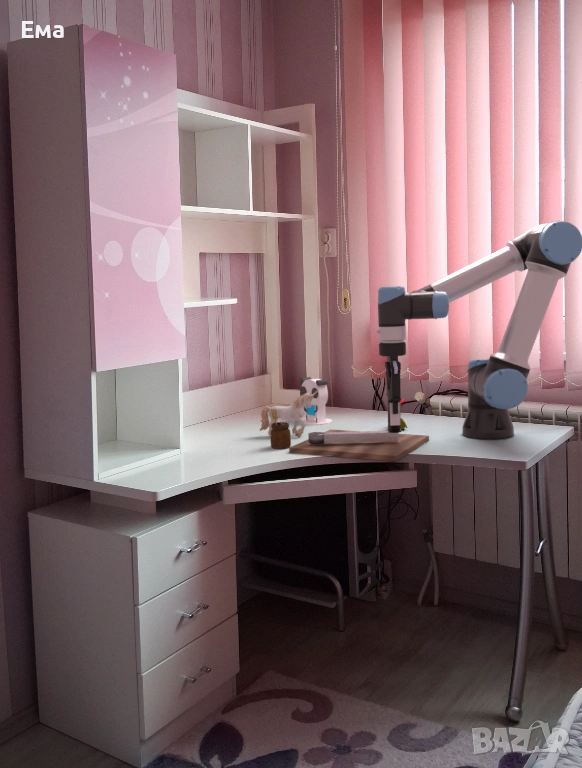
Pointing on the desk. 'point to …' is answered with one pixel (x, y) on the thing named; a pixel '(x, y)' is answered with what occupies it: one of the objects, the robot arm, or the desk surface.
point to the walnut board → (364, 448)
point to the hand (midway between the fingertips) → (394, 423)
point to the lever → (358, 434)
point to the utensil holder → (280, 433)
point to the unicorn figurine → (288, 413)
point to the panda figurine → (315, 401)
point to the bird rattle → (401, 418)
